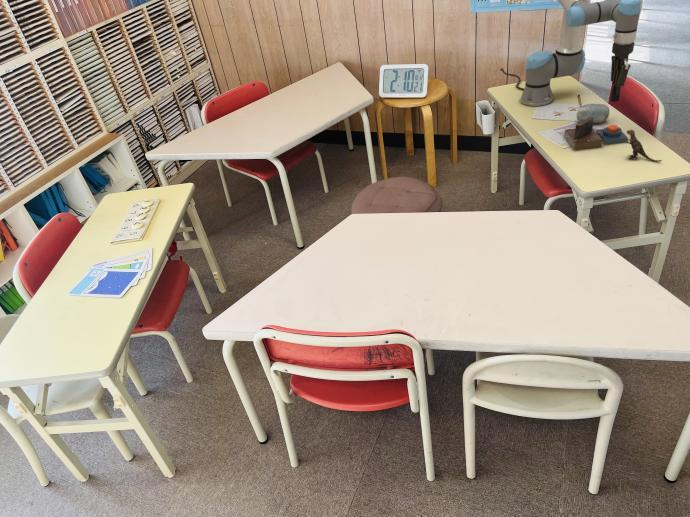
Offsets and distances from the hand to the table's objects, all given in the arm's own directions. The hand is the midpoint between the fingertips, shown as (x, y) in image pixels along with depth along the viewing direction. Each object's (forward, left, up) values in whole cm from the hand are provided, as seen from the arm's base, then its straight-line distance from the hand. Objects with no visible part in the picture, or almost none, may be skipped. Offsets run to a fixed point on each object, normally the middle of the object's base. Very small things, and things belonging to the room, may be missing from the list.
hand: (614, 100), depth 219 cm
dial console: (+1, -11, -17) cm, 20 cm away
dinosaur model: (+22, +5, -17) cm, 28 cm away
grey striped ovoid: (-17, -1, -17) cm, 24 cm away
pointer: (+1, -11, -13) cm, 17 cm away
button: (+1, +1, -13) cm, 13 cm away
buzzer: (+1, +1, -17) cm, 17 cm away
